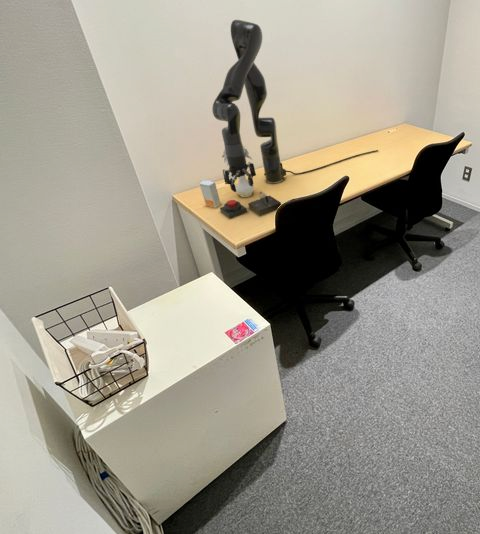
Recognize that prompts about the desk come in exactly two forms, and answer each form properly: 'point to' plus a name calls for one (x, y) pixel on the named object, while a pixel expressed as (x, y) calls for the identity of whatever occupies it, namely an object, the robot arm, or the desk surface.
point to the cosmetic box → (210, 193)
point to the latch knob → (263, 198)
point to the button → (231, 203)
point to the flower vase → (242, 179)
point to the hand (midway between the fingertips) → (242, 188)
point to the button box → (233, 210)
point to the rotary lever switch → (264, 206)
